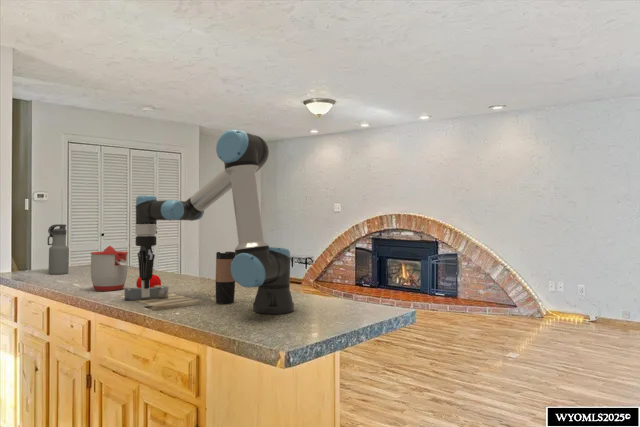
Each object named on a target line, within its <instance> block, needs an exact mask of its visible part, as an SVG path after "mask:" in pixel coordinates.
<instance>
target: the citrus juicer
mask: <svg viewBox="0 0 640 427" xmlns="http://www.w3.org/2000/svg"><path fill="white" fill-rule="evenodd" d="M128 254H129V252H128V251H119V250H117V251H116V249H115V248H114V247H113V246H111V245H108V246H107V247H106V248H105V249H104V250H102V251H93V252H92V251H91V252H90V278H91V282H92V286H93V290H95V291H98V292H99V291H100V292H102V291H103V292H107V293H108V292H111V291H119V290H120V289H121V290H122V289H124V287H125V285H126V280H127V276H128V257H129V256H128Z"/></svg>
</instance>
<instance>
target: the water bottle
mask: <svg viewBox="0 0 640 427" xmlns="http://www.w3.org/2000/svg"><path fill="white" fill-rule="evenodd" d="M66 227H67V224H61V223H60V224H58V223H57V224H52V225H51V226H49V228H48V229H47V232H48V235H49V236H47V245H48V246H50V247H49V248H48V274H49V275H52V276H56V275H68V273H69V262H70V261H69V259H70V255H69V252H70V249H69V247H68V245H67V228H66ZM50 238H51V239H52V241H51V242H52V243H50Z"/></svg>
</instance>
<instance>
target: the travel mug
mask: <svg viewBox="0 0 640 427" xmlns="http://www.w3.org/2000/svg"><path fill="white" fill-rule="evenodd" d="M215 257H216V258H215V303H216V304H218V305H230V304H234V303H235V292H236V291H235V290H236V288H235V287H236V281H235V280H234V279H233V277H232V274H231V262H232V261H233V259H234V258H235V257H236V255H235V251H225V252H220V251H216V253H215Z"/></svg>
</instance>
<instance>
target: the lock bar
mask: <svg viewBox="0 0 640 427" xmlns="http://www.w3.org/2000/svg"><path fill="white" fill-rule="evenodd" d="M168 293H169V286H167V285H166V286H165V285H161V286H158V287H150V297H141V288H137V287H127V288H124V294H123V295H124V297H123V298H124V299H123V300H125V301H135V300H139V299H164V298H168Z"/></svg>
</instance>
